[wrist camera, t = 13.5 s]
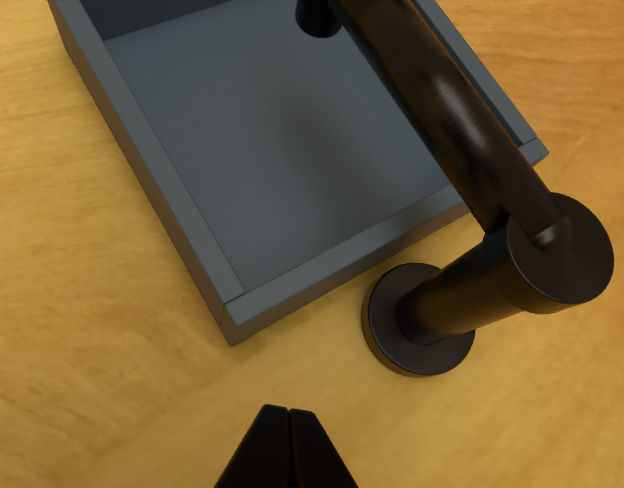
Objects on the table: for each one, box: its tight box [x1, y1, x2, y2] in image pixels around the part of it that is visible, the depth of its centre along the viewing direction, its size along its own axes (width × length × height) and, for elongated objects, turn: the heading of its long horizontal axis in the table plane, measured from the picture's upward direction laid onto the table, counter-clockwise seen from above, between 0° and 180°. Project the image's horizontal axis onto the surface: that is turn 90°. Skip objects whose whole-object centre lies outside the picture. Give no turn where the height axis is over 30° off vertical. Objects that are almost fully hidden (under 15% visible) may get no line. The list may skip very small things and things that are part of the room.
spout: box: [295, 0, 614, 314], centre depth 14 cm, size 12×3×3 cm, turn 31°
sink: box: [47, 0, 549, 347], centre depth 21 cm, size 15×14×4 cm
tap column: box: [362, 241, 524, 378], centre depth 17 cm, size 4×4×8 cm
